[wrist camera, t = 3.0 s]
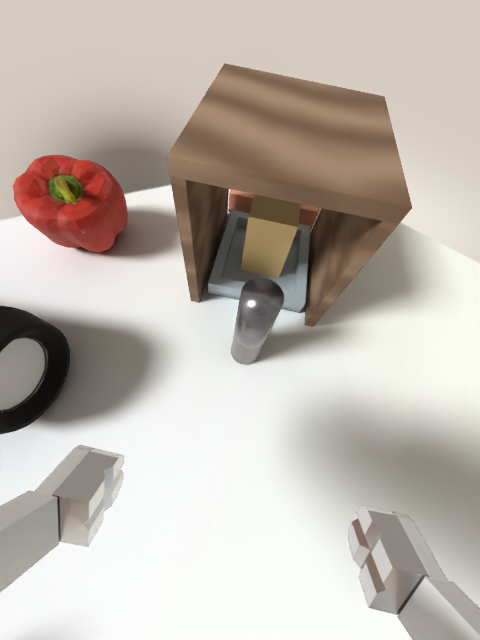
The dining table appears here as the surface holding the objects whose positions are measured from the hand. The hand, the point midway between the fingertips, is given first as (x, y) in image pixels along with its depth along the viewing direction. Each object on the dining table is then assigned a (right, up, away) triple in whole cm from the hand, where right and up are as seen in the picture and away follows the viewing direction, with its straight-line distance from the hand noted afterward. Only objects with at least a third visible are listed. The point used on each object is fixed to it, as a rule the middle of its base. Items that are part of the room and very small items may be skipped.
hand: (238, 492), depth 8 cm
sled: (+2, +10, +22) cm, 24 cm away
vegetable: (-19, +16, +24) cm, 34 cm away
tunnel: (+3, +14, +24) cm, 28 cm away
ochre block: (+3, +14, +23) cm, 27 cm away
